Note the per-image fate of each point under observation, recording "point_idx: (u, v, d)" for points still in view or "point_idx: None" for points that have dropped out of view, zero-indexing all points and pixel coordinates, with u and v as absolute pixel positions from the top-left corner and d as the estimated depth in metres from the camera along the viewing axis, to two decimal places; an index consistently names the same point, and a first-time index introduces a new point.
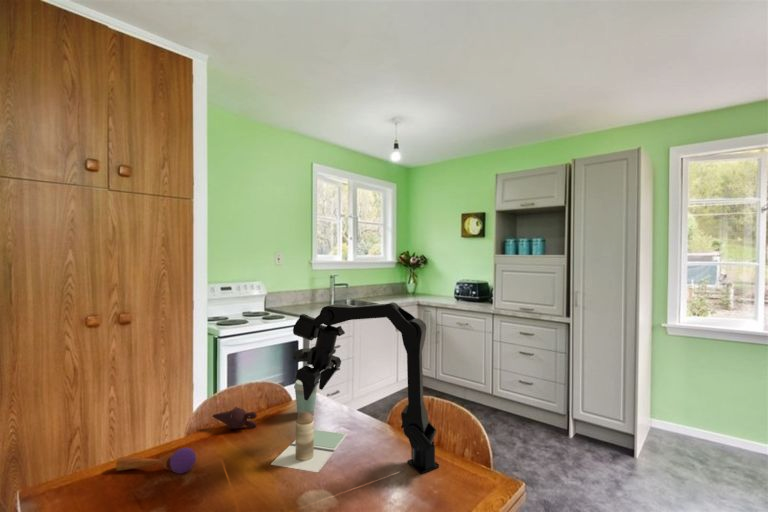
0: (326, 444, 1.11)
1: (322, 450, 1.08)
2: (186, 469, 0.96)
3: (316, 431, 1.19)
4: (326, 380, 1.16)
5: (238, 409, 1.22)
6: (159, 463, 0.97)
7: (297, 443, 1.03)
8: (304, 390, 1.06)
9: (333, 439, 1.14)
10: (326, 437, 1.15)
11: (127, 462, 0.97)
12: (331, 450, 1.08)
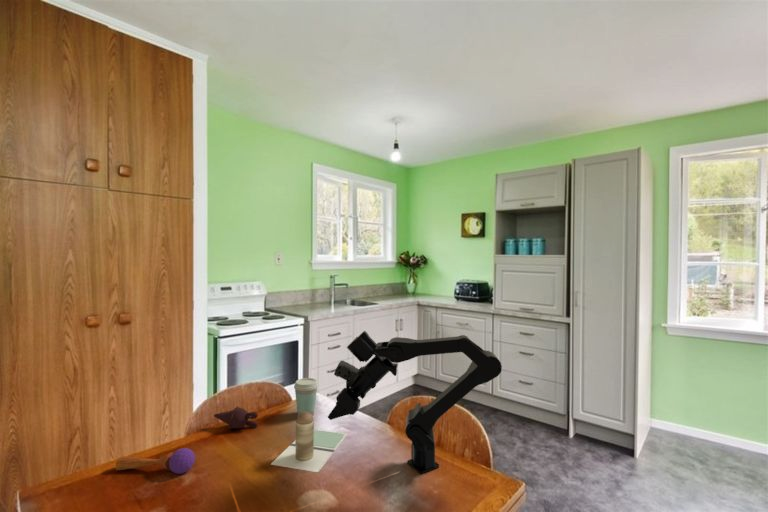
0: (326, 444, 1.11)
1: (322, 450, 1.08)
2: (185, 469, 0.96)
3: (316, 431, 1.19)
4: None
5: (239, 409, 1.22)
6: (158, 463, 0.97)
7: (297, 443, 1.03)
8: (334, 410, 0.98)
9: (333, 439, 1.14)
10: (326, 437, 1.15)
11: (127, 462, 0.97)
12: (331, 450, 1.08)
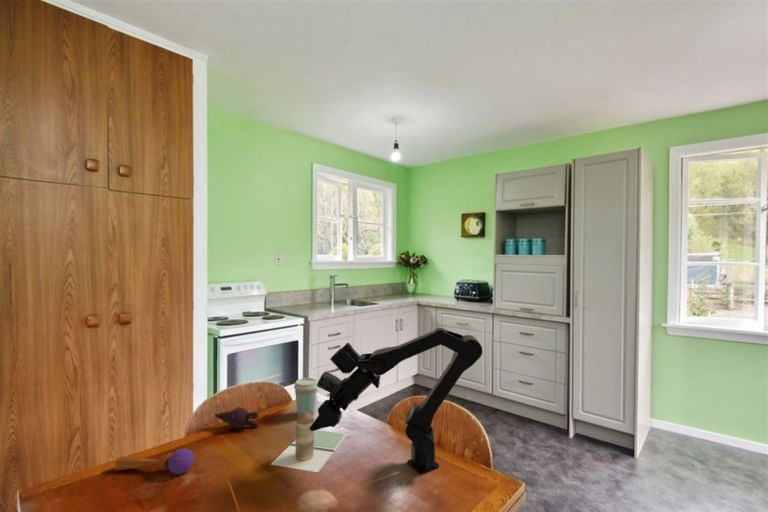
0: (326, 444, 1.11)
1: (322, 450, 1.08)
2: (184, 470, 0.95)
3: (316, 431, 1.19)
4: None
5: (240, 409, 1.22)
6: (157, 463, 0.97)
7: (297, 443, 1.03)
8: (315, 422, 0.98)
9: (333, 439, 1.14)
10: (326, 437, 1.15)
11: (126, 462, 0.97)
12: (331, 450, 1.08)
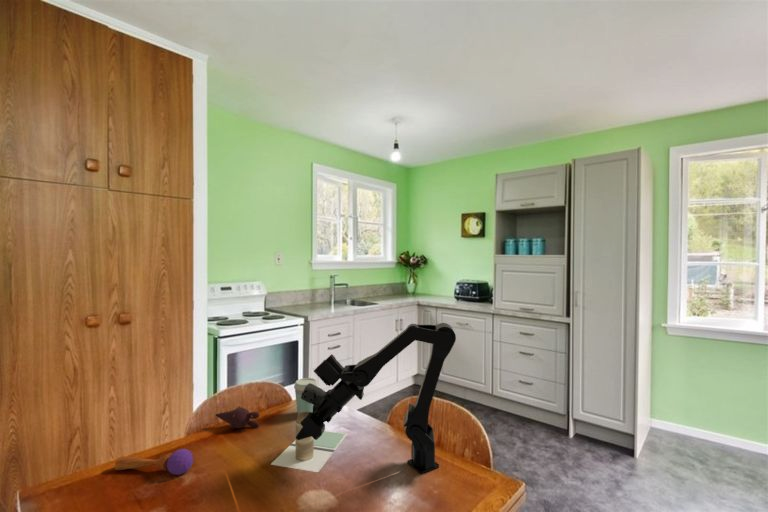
0: (326, 444, 1.11)
1: (322, 450, 1.08)
2: (183, 471, 0.95)
3: None
4: None
5: (241, 409, 1.22)
6: (157, 464, 0.96)
7: (297, 443, 1.03)
8: (301, 431, 1.01)
9: (333, 439, 1.14)
10: (326, 437, 1.15)
11: (126, 462, 0.97)
12: (331, 450, 1.08)
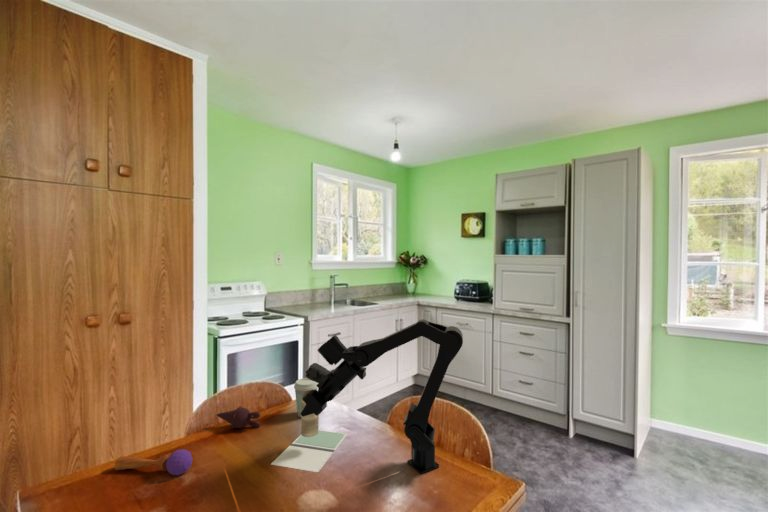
0: (326, 444, 1.11)
1: (322, 450, 1.08)
2: (182, 471, 0.95)
3: None
4: None
5: (242, 409, 1.23)
6: (156, 464, 0.96)
7: (302, 420, 1.06)
8: (305, 407, 1.05)
9: (333, 439, 1.14)
10: (326, 437, 1.15)
11: (126, 462, 0.97)
12: (331, 450, 1.08)
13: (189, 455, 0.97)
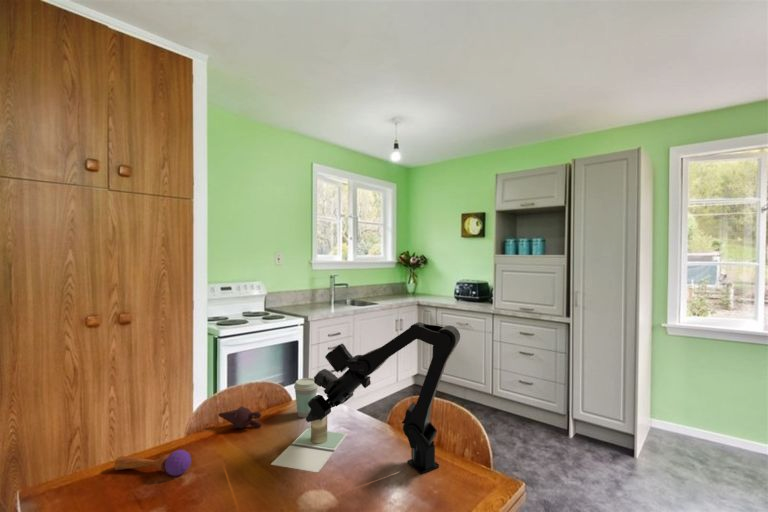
0: (326, 444, 1.11)
1: (322, 450, 1.08)
2: (180, 472, 0.95)
3: None
4: (332, 405, 1.17)
5: (243, 408, 1.23)
6: (155, 464, 0.96)
7: (311, 427, 1.12)
8: (309, 414, 1.08)
9: (333, 439, 1.14)
10: None
11: (125, 462, 0.97)
12: (331, 450, 1.08)
13: (188, 456, 0.97)
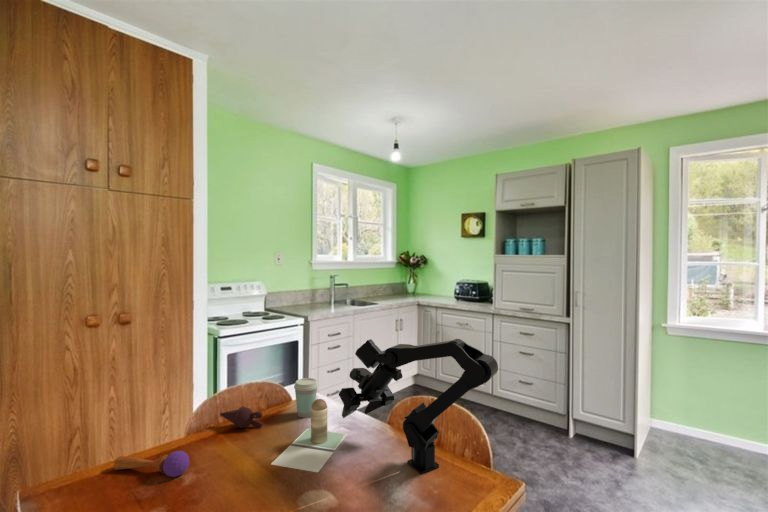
0: (326, 444, 1.11)
1: (322, 450, 1.08)
2: (178, 473, 0.94)
3: None
4: (372, 409, 1.15)
5: (244, 408, 1.23)
6: (153, 465, 0.96)
7: (311, 427, 1.12)
8: (343, 408, 1.09)
9: (333, 439, 1.14)
10: None
11: (124, 462, 0.97)
12: (331, 450, 1.08)
13: (186, 457, 0.96)
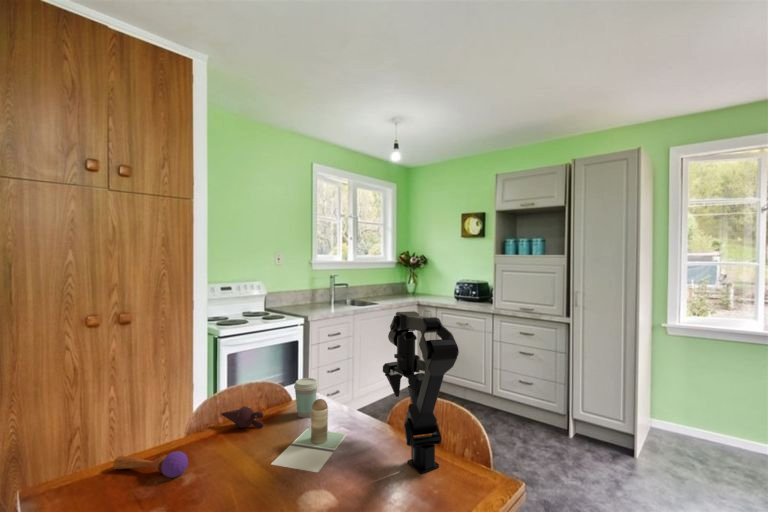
0: (326, 444, 1.11)
1: (322, 450, 1.08)
2: (176, 474, 0.94)
3: None
4: None
5: (246, 408, 1.23)
6: (152, 465, 0.96)
7: (311, 427, 1.12)
8: None
9: (333, 439, 1.14)
10: None
11: (124, 462, 0.97)
12: (331, 450, 1.08)
13: (184, 457, 0.96)
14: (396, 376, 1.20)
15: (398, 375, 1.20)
